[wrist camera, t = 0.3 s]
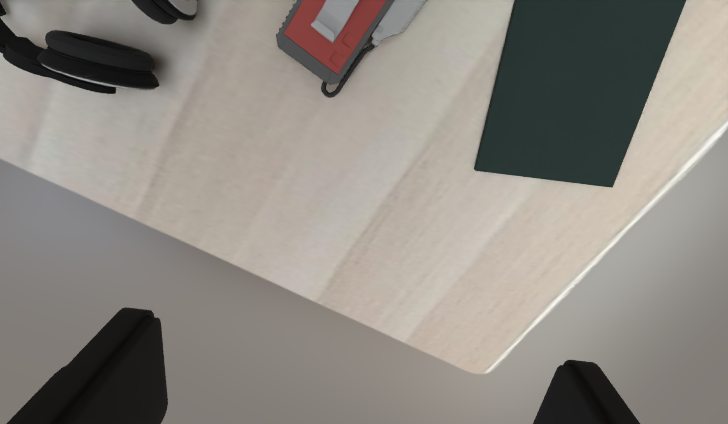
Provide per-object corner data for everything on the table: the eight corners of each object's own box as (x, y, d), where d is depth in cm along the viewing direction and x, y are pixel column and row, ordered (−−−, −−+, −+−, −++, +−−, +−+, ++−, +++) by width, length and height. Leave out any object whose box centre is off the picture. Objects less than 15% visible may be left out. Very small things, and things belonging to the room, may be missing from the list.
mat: (531, -69, 31) (534, -71, 31) (698, -45, 32) (704, -46, 31) (473, 168, 39) (475, 170, 38) (609, 185, 39) (612, 187, 39)
